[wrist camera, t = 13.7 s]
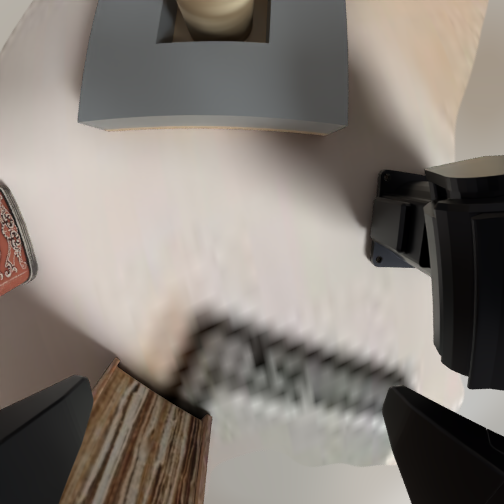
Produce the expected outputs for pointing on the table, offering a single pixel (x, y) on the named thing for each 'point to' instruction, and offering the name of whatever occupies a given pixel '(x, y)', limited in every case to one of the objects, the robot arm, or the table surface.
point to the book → (138, 448)
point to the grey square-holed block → (217, 70)
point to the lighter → (14, 245)
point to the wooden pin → (218, 19)
